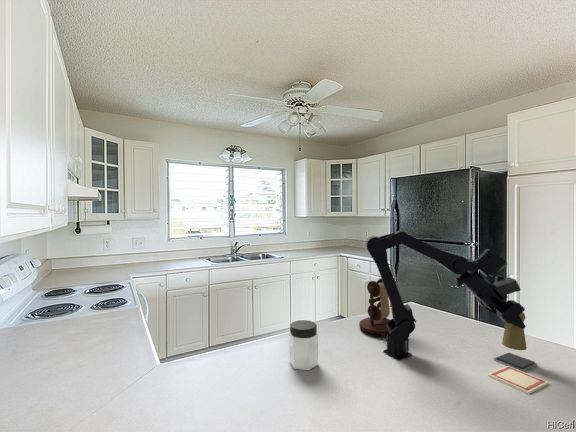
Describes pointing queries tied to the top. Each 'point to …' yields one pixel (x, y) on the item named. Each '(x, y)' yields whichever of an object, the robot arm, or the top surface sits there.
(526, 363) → the ink pad
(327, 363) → the top surface
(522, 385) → the print card
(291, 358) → the jar
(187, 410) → the top surface
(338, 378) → the top surface
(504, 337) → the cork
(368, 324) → the brown wooden figurine
